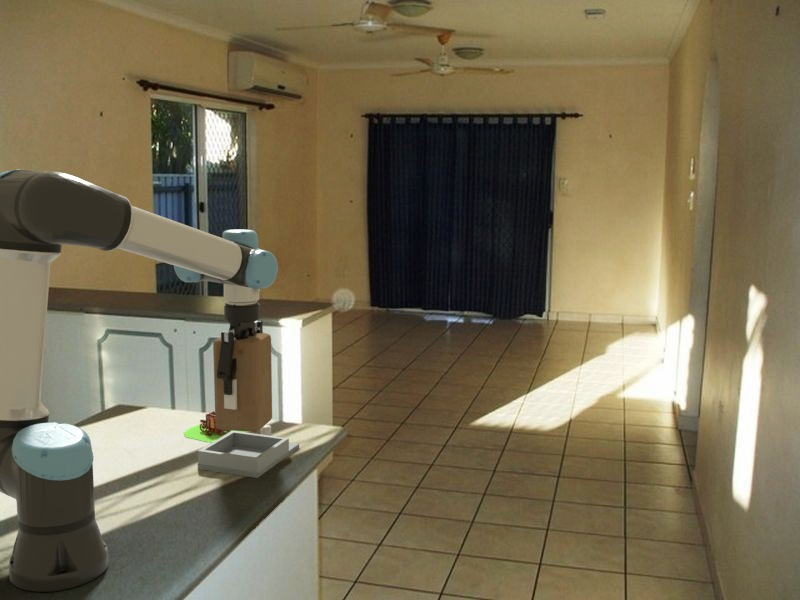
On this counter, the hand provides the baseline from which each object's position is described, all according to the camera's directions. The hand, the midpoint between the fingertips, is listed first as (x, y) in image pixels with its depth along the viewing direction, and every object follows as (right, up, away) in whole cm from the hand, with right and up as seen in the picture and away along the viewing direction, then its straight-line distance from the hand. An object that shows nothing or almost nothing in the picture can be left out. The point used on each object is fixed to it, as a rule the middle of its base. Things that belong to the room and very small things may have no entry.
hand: (243, 401), depth 189 cm
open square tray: (+1, -13, +5) cm, 14 cm away
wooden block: (0, -6, +1) cm, 6 cm away
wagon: (-10, -11, +23) cm, 27 cm away
